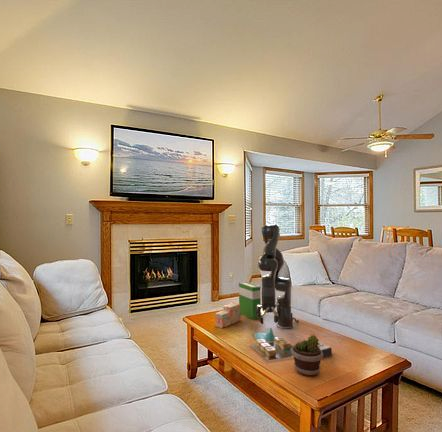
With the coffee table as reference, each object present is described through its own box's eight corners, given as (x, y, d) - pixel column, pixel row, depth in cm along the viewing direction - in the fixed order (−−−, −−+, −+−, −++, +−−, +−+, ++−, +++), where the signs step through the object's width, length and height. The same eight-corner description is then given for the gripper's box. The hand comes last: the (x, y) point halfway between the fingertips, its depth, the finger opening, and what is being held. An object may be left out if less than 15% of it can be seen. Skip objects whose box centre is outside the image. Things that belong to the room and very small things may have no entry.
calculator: (310, 338, 179) (331, 346, 165) (311, 345, 179) (332, 354, 165) (296, 341, 174) (317, 350, 161) (296, 349, 174) (317, 358, 161)
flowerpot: (285, 370, 149) (284, 330, 149) (302, 361, 159) (301, 323, 159) (312, 383, 138) (311, 339, 138) (329, 372, 147) (328, 331, 147)
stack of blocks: (222, 328, 207) (222, 310, 207) (215, 326, 211) (215, 308, 211) (240, 320, 222) (240, 303, 222) (233, 318, 227) (233, 302, 227)
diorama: (263, 331, 201) (263, 318, 200) (284, 343, 182) (284, 329, 182) (248, 334, 196) (248, 321, 196) (268, 347, 177) (268, 332, 177)
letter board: (284, 342, 183) (284, 335, 183) (304, 356, 164) (304, 349, 164) (251, 346, 178) (250, 339, 178) (267, 362, 158) (267, 354, 158)
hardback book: (239, 313, 239) (238, 282, 239) (247, 311, 242) (246, 281, 242) (252, 319, 223) (252, 287, 223) (260, 318, 226) (260, 286, 226)
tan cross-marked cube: (272, 351, 168) (271, 346, 168) (276, 355, 164) (276, 349, 164) (264, 352, 167) (264, 347, 167) (268, 356, 163) (268, 350, 163)
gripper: (259, 296, 164) (260, 326, 164) (283, 294, 168) (283, 324, 168) (253, 293, 172) (254, 322, 172) (276, 291, 175) (276, 319, 175)
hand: (268, 323), depth 170 cm, fingers open, 8 cm apart
